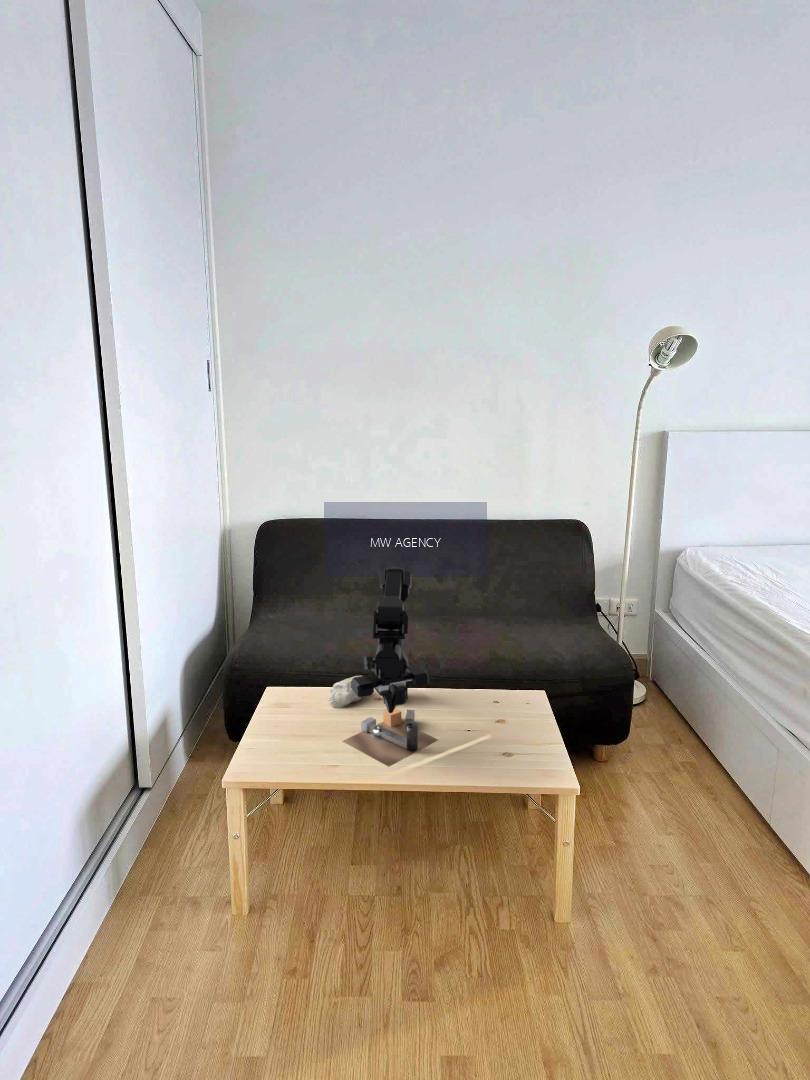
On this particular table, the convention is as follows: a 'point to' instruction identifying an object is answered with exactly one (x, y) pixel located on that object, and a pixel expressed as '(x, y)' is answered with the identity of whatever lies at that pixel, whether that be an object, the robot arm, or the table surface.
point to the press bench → (388, 742)
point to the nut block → (392, 717)
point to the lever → (393, 734)
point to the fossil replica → (343, 694)
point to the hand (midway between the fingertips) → (390, 712)
